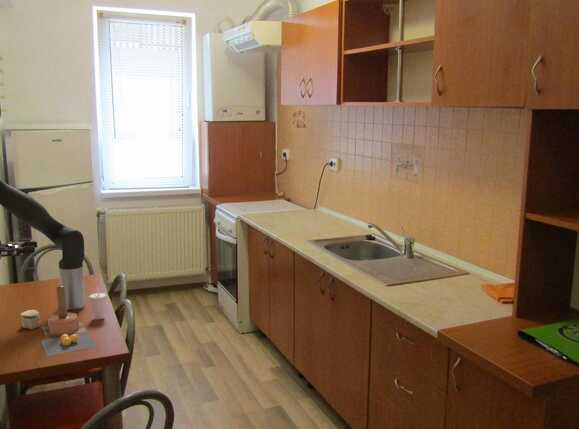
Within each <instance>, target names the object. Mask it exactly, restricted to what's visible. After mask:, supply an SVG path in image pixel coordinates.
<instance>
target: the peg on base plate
mask: <svg viewBox="0 0 579 429" xmlns="http://www.w3.org/2000/svg"><path fill="white" fill-rule="evenodd" d="M56 297H57V298H56V299H57V302H56V303H57V313H56V314H53V315H50V316H49V317H48V319H47V325H48V330H49V332H50V334H58V335H61V334H67V333H72V332H74V331H76V330H77V329H79V320H80V319H79V317H78V314H76V313H73V312H68V310H67V304H66V289H65V285H60V284H58V285H56Z"/></svg>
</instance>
